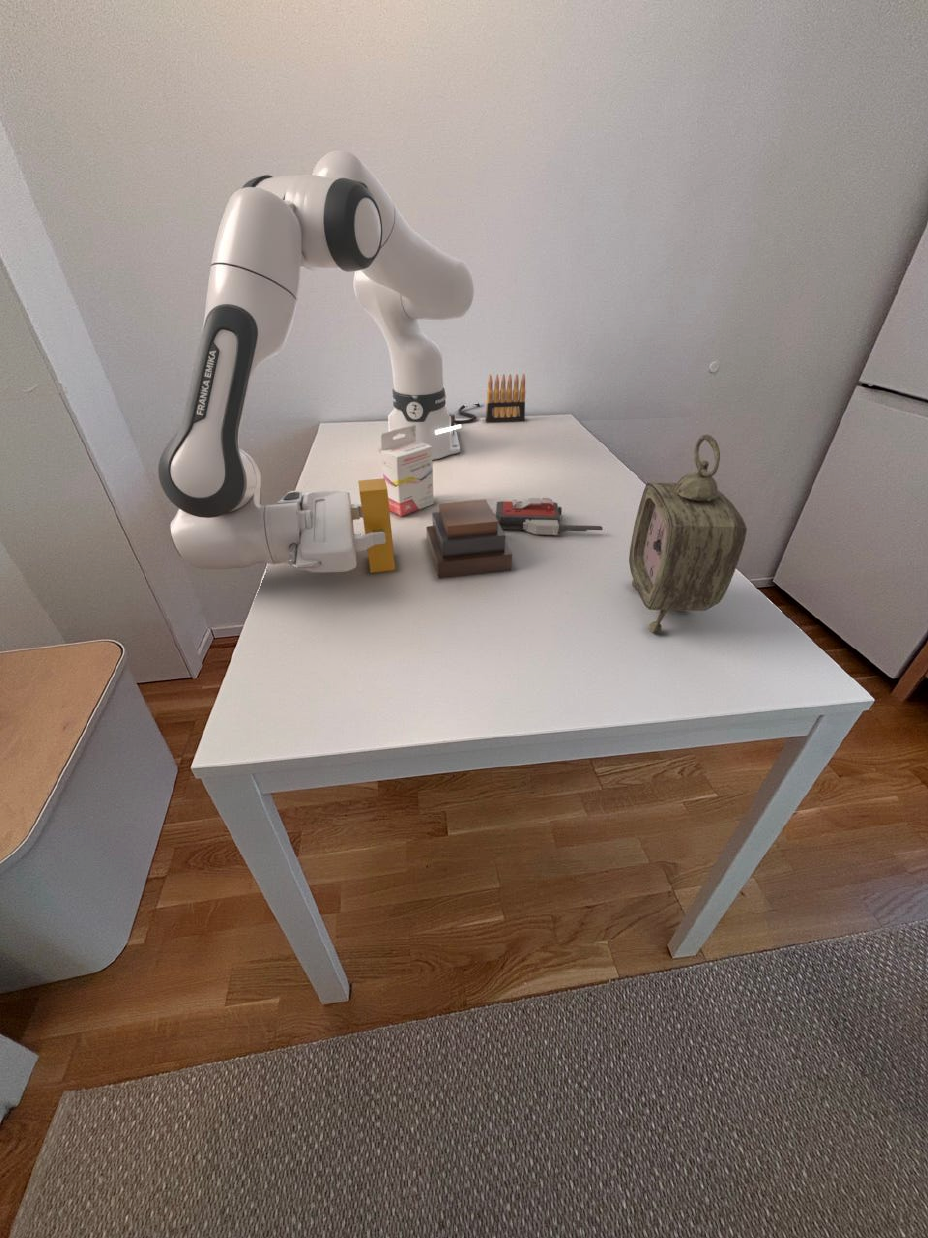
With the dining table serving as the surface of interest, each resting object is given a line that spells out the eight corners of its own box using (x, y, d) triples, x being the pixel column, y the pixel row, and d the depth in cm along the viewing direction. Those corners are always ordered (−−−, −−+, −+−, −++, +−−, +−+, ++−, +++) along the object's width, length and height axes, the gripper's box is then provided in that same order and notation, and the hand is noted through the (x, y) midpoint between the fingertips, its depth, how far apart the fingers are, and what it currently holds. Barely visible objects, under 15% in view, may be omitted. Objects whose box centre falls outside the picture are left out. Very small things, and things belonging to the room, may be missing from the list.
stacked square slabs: (427, 541, 91) (424, 499, 86) (493, 534, 93) (494, 492, 88) (438, 578, 82) (436, 534, 77) (511, 570, 84) (514, 526, 79)
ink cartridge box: (401, 518, 98) (395, 440, 89) (385, 509, 101) (377, 433, 91) (435, 503, 103) (432, 428, 93) (419, 496, 105) (414, 422, 96)
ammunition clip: (486, 422, 142) (487, 375, 134) (485, 420, 143) (486, 373, 136) (524, 421, 143) (527, 374, 135) (523, 418, 144) (526, 372, 137)
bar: (369, 560, 86) (358, 480, 77) (392, 557, 87) (384, 478, 78) (370, 573, 83) (359, 491, 74) (395, 570, 84) (387, 489, 75)
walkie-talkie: (489, 535, 92) (602, 538, 92) (490, 513, 90) (606, 515, 89) (490, 513, 99) (594, 515, 98) (490, 491, 96) (598, 493, 96)
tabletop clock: (621, 580, 81) (659, 417, 65) (680, 581, 81) (731, 418, 65) (644, 641, 70) (695, 461, 54) (711, 642, 69) (783, 462, 54)
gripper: (282, 549, 68) (387, 538, 71) (290, 486, 84) (376, 478, 86) (292, 588, 72) (391, 576, 74) (298, 520, 88) (380, 513, 90)
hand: (383, 523), depth 80 cm, fingers open, 6 cm apart
